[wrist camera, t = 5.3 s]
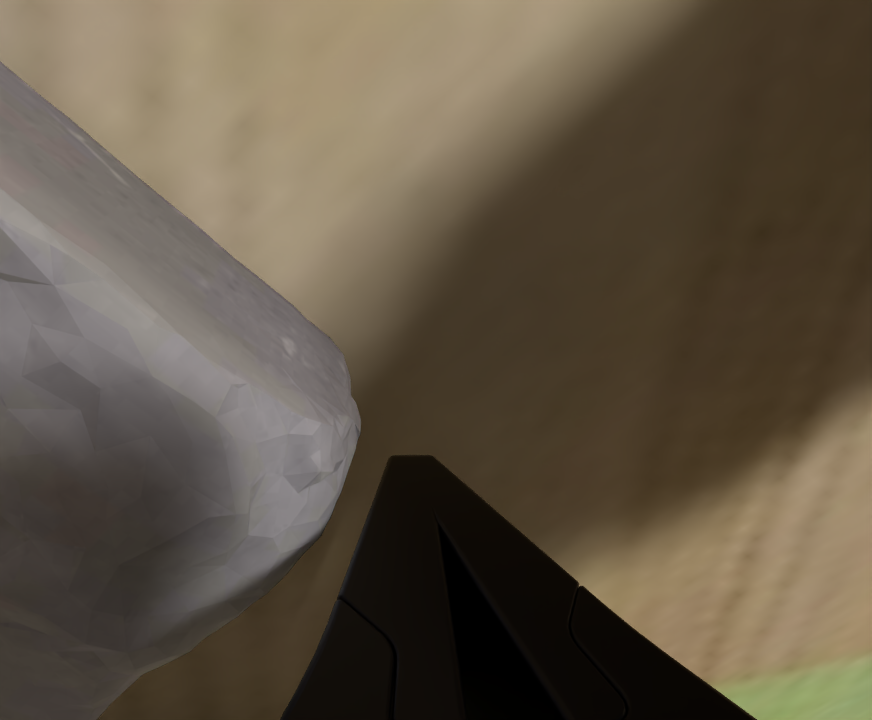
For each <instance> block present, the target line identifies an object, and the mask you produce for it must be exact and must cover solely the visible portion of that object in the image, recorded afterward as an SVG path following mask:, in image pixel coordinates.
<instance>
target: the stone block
mask: <svg viewBox="0 0 872 720" xmlns="http://www.w3.org/2000/svg"><path fill="white" fill-rule="evenodd" d="M360 433H361V418H360V414H359V411H358V408H357V404H356V402H355V401H354V399H353V398H352V397H351V381H350V375H349V371H348V368H347V365H346V362H345V358H344V355H343V353H342V352H341V351H340V350H339V348H338V347H337V346H336V345H335V344H334V342H333V341H332V340H331V339H330V337H328V336H327V335H326V334H325V333H323V332H322V331H321V330H320V329H318V328H317V327H316V326H315V325H314V324H312V323H311V322H310V321H309V320H307V319H306V318H305V317H304V316H303V315H302V314H301V313H300V312H299V311H298V310H297V309H296V308H295V307H294V306H293V305H292V304H291V303H290V302H288V301H287V300H286V299H285V298H283V297H282V296H281V295H280V294H279V293H277V292H276V291H275V290H274V289H272V288H271V287H270V286H269V285H268V284H266V283H265V282H264V281H263V280H261V279H260V278H259V277H258V276H256V275H255V274H254V273H253V272H251V271H250V270H249V269H248V268H246V267H245V266H244V265H242V264H241V263H240V262H239V261H237V260H236V259H235V258H233V257H232V256H231V255H230V254H229V253H228V252H227V251H226V250H224V249H223V248H222V247H221V246H220V245H219V244H218V243H216V242H215V241H214V240H213V239H212V238H211V237H210V236H208V235H207V234H206V233H205V232H204V231H203V230H202V229H200V228H199V227H198V226H197V225H196V224H194V223H193V222H192V221H191V220H189V219H188V218H187V217H186V216H185V215H183V214H182V213H181V212H180V211H179V210H177V209H176V208H175V207H174V206H172V205H171V204H170V203H169V202H168V201H166V200H165V199H164V198H163V197H161V196H160V195H159V194H158V193H157V192H155V191H154V190H153V189H152V188H151V187H149V186H148V185H147V184H146V183H144V182H143V181H142V180H141V179H140V178H138V177H137V176H136V175H135V174H134V173H133V172H131V171H130V170H129V169H128V168H127V167H126V166H124V165H123V164H122V163H121V162H120V161H119V160H117V159H116V158H115V157H114V156H113V155H112V154H110V153H109V152H108V151H107V150H106V149H105V148H103V147H102V146H101V145H100V144H99V143H98V142H97V141H95V140H94V139H93V138H92V137H91V136H90V135H88V134H87V133H86V132H85V131H84V130H83V129H81V128H80V127H79V126H78V125H77V124H76V123H74V122H73V121H72V120H71V119H70V118H69V117H67V116H66V115H65V114H63V113H62V112H61V111H60V110H58V109H57V108H56V107H55V106H53V105H52V104H51V103H49V102H48V101H47V100H46V99H44V98H43V97H42V96H41V95H40V94H38V93H37V92H36V91H35V90H34V89H32V88H31V87H30V86H29V85H28V84H27V83H25V82H24V81H23V80H22V79H21V78H19V77H18V76H17V75H16V74H15V73H13V72H12V71H11V70H10V69H9V68H8V67H6V66H5V65H4V64H3V63H2V62H0V720H97V719H98V717H99V716H100V715H101V714H102V713H103V712H104V711H105V710H106V709H107V707H108V706H109V705H110V704H111V703H112V702H113V701H114V700H115V699H116V698H117V697H118V696H119V695H121V694H122V693H123V692H124V691H125V690H126V689H127V688H128V687H129V686H131V685H132V684H133V683H134V682H135V681H136V680H137V679H138V678H139V677H141V676H142V675H143V674H145V673H147V672H149V671H151V670H154V669H156V668H158V667H160V666H163V665H165V664H167V663H169V662H171V661H173V660H175V659H177V658H179V657H180V656H182V655H184V654H186V653H188V652H190V651H191V650H192V649H194V648H195V647H196V646H197V645H198V644H199V643H200V642H201V641H202V640H203V639H205V638H206V637H208V636H209V635H211V634H212V633H214V632H215V631H217V630H218V629H220V628H221V627H223V626H224V625H226V624H227V623H229V622H230V621H232V620H233V619H235V618H236V617H238V616H239V615H240V614H241V613H242V612H243V611H245V610H246V609H247V608H248V607H249V606H250V605H251V604H253V603H254V602H255V601H257V600H258V599H260V598H261V597H263V596H264V595H265V594H267V593H268V592H269V591H270V590H271V589H272V588H273V587H274V586H275V585H276V584H277V583H278V582H279V581H280V580H281V579H282V578H283V577H284V576H285V575H286V574H287V573H288V572H289V571H290V569H291V568H292V567H293V566H294V565H295V563H296V562H297V561H298V560H299V558H300V557H301V556H302V555H303V554H304V553H305V552H306V551H307V550H308V549H309V548H310V547H311V546H312V545H313V544H314V543H315V542H316V541H317V540H318V539H319V538H320V536H321V535H322V533H323V531H324V529H325V527H326V525H327V523H328V521H329V520H330V518H331V515H332V513H333V510H334V507H335V504H336V501H337V499H338V498H339V496H340V494H341V491H342V488H343V485H344V482H345V479H346V476H347V473H348V470H349V467H350V464H351V461H352V458H353V456H354V453H355V450H356V445H357V441H358V438H359V436H360Z"/></svg>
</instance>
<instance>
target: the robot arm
mask: <svg viewBox="0 0 872 720" xmlns="http://www.w3.org/2000/svg"><path fill="white" fill-rule="evenodd" d="M578 587H579V583H578V581H576V580H575V579H574V578H573V577H572V576H571V575H569V574H568V573H567V572H566V571H565V570H564V569H563V568H561V567H560V566H559V565H558V564H557V563H556V562H554V561H553V560H552V559H551V558H550V557H549V556H548V555H546V554H545V553H544V552H543V551H542V550H541V549H539V548H538V547H537V546H536V545H535V544H534V543H533V542H531V541H530V540H529V539H528V538H527V537H526V536H525V535H523V534H522V533H521V532H520V531H519V530H518V529H516V528H515V527H514V526H513V525H512V524H511V523H510V522H508V521H507V520H506V519H505V518H504V517H503V516H501V515H500V514H499V513H498V512H497V511H496V510H495V509H493V508H492V507H491V506H490V505H489V504H488V503H486V502H485V501H484V500H483V499H482V498H481V497H480V496H478V495H477V494H476V493H475V492H474V491H473V490H471V489H470V488H469V487H468V486H467V485H466V484H465V483H463V482H462V481H461V480H460V479H459V478H458V477H456V476H455V475H454V474H453V473H452V472H451V471H450V470H448V469H447V468H446V467H445V466H444V465H443V464H441V463H440V462H439V461H438V460H437V459H436V458H434V457H433V456H431V455H392V456H390V457H389V459H388V462H387V464H386V467H385V470H384V472H383V475H382V478H381V481H380V483H379V486H378V489H377V491H376V494H375V497H374V500H373V502H372V505H371V508H370V511H369V513H368V516H367V519H366V521H365V524H364V527H363V530H362V532H361V535H360V538H359V540H358V543H357V546H356V549H355V551H354V554H353V557H352V559H351V562H350V565H349V568H348V570H347V573H346V576H345V578H344V581H343V584H342V587H341V589H340V592H339V595H338V597H337V601H336V602H335V604H334V607H333V610H332V613H331V615H330V618H329V621H328V623H327V626H326V628H325V630H324V633H323V635H322V638H321V640H320V642H319V645H318V647H317V650H316V652H315V654H314V656H313V658H312V660H311V662H310V664H309V666H308V668H307V670H306V672H305V674H304V676H303V678H302V680H301V682H300V684H299V686H298V688H297V690H296V692H295V693H294V695H293V697H292V699H291V701H290V702H289V704H288V706H287V708H286V710H285V711H284V713H283V715H282V717H281V719H280V720H757V719H755V718H754V717H753V716H751V715H750V714H749V713H747V712H746V711H744V710H743V709H742V708H740V707H739V706H738V705H736V704H735V703H733V702H732V701H731V700H729V699H728V698H727V697H725V696H724V695H722V694H721V693H720V692H718V691H717V690H716V689H714V688H713V687H712V686H710V685H709V684H707V683H706V682H705V681H703V680H702V679H701V678H699V677H698V676H696V675H695V674H694V673H692V672H691V671H690V670H688V669H687V668H685V667H684V666H683V665H681V664H680V663H679V662H677V661H676V660H675V659H673V658H672V657H670V656H669V655H668V654H666V653H665V652H664V651H662V650H661V649H660V648H659V647H657V646H656V645H655V644H653V643H652V642H651V641H649V640H648V639H647V638H645V637H644V636H643V635H641V634H640V633H639V632H637V631H636V630H635V629H634V628H632V627H631V626H630V625H629V624H627V623H626V622H625V621H624V620H623V619H621V618H620V617H619V616H618V615H617V614H615V613H614V612H613V611H612V610H611V609H609V608H608V607H607V606H606V605H604V604H603V603H602V602H601V601H600V600H599V599H597V598H596V597H595V596H594V595H593V594H592V593H591V592H589V591H588V590H587V589H586V588H585V587H584V586H580V587H579V588H578Z"/></svg>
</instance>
